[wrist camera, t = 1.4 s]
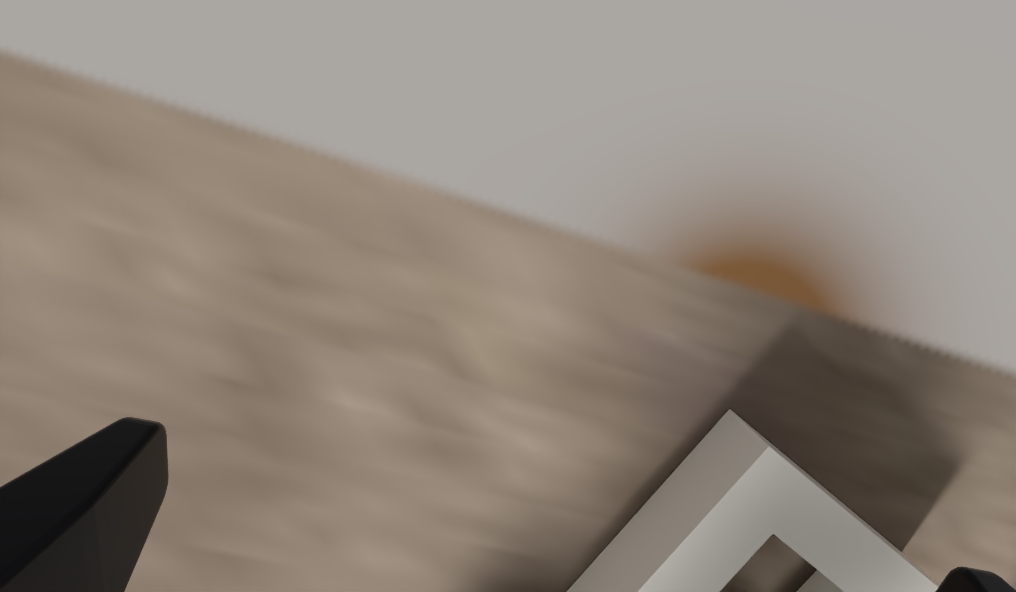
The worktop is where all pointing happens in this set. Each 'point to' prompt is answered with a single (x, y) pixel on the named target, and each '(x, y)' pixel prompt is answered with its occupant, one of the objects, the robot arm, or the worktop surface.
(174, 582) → the worktop surface
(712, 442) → the white rectangular frame
